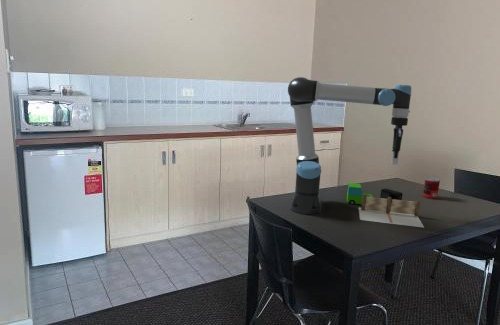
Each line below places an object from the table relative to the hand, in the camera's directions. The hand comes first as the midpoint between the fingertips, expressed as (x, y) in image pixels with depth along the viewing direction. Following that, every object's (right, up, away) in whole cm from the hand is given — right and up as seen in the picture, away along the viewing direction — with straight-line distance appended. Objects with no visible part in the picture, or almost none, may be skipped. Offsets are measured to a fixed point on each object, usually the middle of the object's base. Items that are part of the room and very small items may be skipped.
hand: (394, 164), depth 196 cm
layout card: (-5, -26, -8) cm, 28 cm away
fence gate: (+3, -25, -4) cm, 25 cm away
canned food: (+32, -20, +31) cm, 49 cm away
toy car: (-14, -22, +12) cm, 28 cm away
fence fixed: (-10, -24, -1) cm, 26 cm away
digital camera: (+3, -22, +16) cm, 27 cm away
